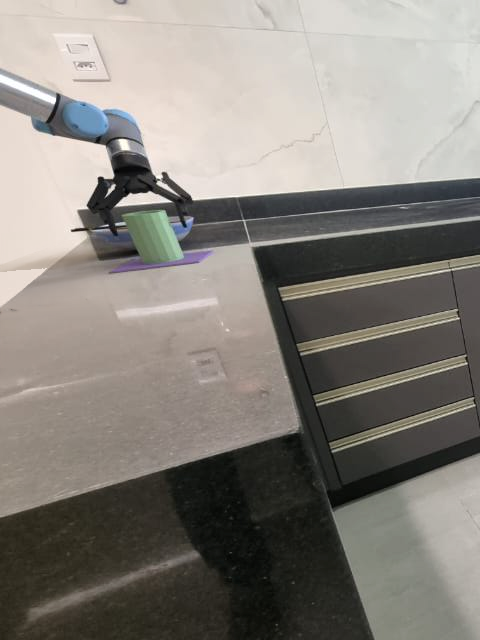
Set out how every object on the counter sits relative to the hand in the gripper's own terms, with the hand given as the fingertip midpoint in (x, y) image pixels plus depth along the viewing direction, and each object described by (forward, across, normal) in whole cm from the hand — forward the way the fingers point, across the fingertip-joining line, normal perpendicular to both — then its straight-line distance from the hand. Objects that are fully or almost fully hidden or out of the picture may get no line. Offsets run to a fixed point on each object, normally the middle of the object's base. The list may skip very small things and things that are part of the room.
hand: (150, 228), depth 132 cm
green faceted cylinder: (+6, 0, -6) cm, 8 cm away
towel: (+6, 0, -6) cm, 9 cm away
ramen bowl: (-12, +4, -24) cm, 27 cm away
